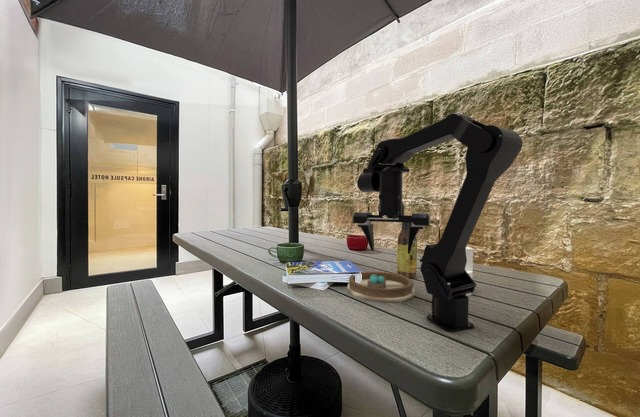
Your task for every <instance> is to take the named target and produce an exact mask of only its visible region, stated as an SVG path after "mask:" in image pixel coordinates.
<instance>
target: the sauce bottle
mask: <svg viewBox="0 0 640 417" xmlns="http://www.w3.org/2000/svg"><path fill="white" fill-rule="evenodd" d="M411 226H412V223H409V222H401V230H400V232H399V234H398V236H397V248H396V270H397V271H396V274H399V275H403V276H405V277H407V278H409V279H412V278H416V276H417V265H418V239H417V236H416V237H415V240H414V243H413V246H412V249H411V252H410V254H408V241H409V232H410V227H411Z"/></svg>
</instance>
